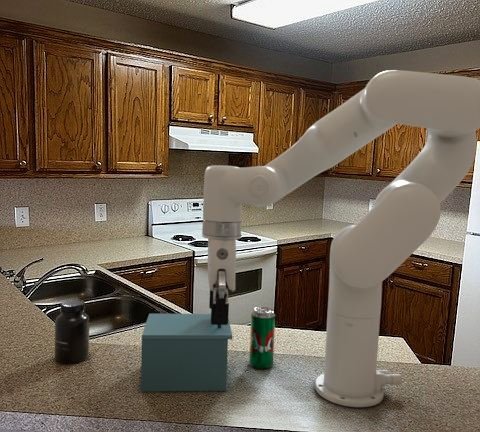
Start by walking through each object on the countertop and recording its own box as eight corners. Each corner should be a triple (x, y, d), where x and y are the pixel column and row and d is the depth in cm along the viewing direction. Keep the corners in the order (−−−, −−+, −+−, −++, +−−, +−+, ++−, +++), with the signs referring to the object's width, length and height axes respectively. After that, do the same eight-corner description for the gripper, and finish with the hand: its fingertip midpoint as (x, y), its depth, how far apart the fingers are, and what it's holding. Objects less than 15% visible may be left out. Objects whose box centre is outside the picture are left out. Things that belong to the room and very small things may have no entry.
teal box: (222, 362, 96) (223, 317, 95) (226, 390, 84) (227, 339, 83) (148, 362, 95) (149, 317, 94) (140, 391, 82) (141, 339, 81)
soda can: (271, 360, 99) (274, 306, 97) (274, 370, 93) (276, 313, 92) (248, 359, 98) (250, 306, 97) (249, 369, 93) (252, 313, 92)
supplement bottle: (52, 365, 92) (52, 308, 91) (57, 352, 98) (57, 298, 97) (87, 363, 93) (88, 306, 92) (90, 350, 100) (90, 297, 99)
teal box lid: (227, 317, 96) (228, 291, 95) (232, 339, 83) (233, 309, 83) (149, 317, 94) (149, 290, 93) (141, 339, 81) (142, 309, 81)
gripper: (245, 236, 79) (241, 331, 81) (237, 225, 96) (233, 303, 98) (203, 235, 78) (199, 331, 80) (201, 223, 95) (198, 302, 97)
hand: (218, 315), depth 89 cm, fingers open, 9 cm apart
